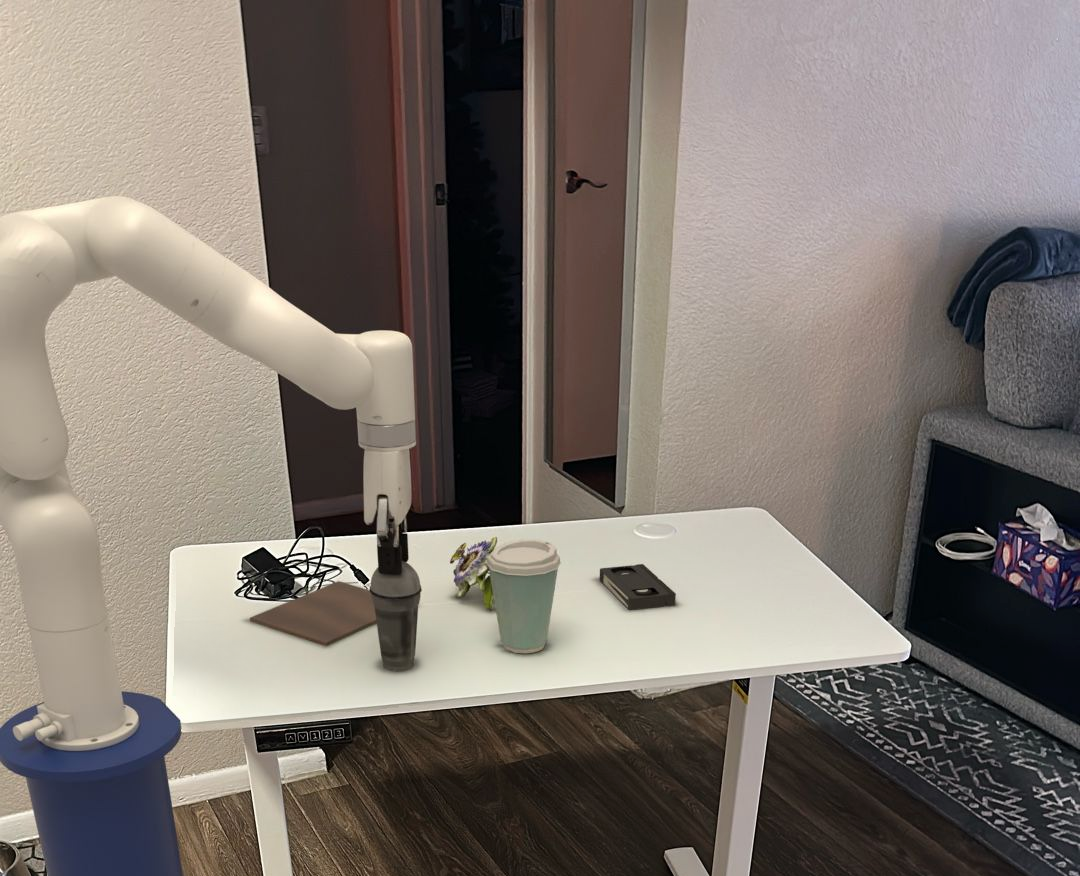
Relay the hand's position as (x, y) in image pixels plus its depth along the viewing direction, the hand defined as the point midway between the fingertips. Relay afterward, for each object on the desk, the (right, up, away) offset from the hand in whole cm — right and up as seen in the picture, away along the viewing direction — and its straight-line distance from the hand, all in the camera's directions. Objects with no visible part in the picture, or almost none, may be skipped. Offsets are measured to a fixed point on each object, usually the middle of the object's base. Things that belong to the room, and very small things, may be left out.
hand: (393, 566), depth 176 cm
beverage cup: (0, -13, +8) cm, 15 cm away
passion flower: (+11, +1, +31) cm, 33 cm away
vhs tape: (+36, +3, +34) cm, 50 cm away
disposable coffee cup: (+18, -9, +15) cm, 25 cm away
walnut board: (-12, -2, +24) cm, 27 cm away
